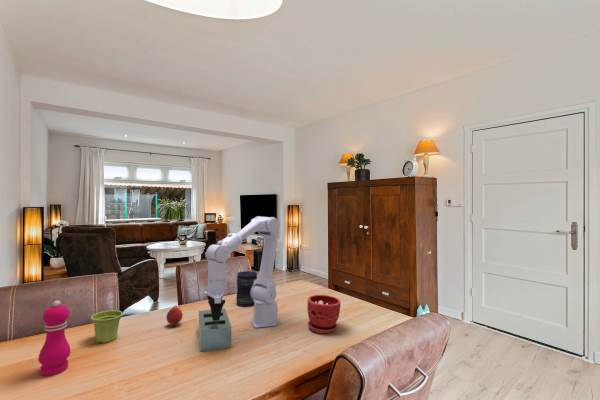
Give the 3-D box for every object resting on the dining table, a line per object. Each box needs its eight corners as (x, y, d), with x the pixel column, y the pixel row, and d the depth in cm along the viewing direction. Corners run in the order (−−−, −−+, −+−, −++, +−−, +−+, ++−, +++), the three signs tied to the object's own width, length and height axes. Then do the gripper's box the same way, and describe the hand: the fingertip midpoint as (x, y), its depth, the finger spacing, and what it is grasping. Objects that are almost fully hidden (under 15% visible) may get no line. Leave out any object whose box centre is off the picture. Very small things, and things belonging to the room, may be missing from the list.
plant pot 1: (117, 331, 114) (118, 308, 114) (124, 339, 107) (125, 315, 107) (87, 338, 107) (88, 314, 108) (93, 348, 101) (94, 322, 101)
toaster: (224, 325, 122) (225, 308, 122) (230, 347, 104) (231, 326, 104) (198, 328, 118) (199, 310, 118) (200, 351, 100) (200, 330, 100)
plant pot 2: (317, 338, 112) (318, 306, 112) (301, 325, 124) (301, 296, 124) (346, 332, 118) (347, 301, 118) (328, 320, 130) (328, 292, 130)
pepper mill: (50, 363, 91) (52, 296, 91) (75, 363, 91) (78, 296, 92) (30, 377, 83) (33, 304, 84) (58, 376, 84) (61, 304, 84)
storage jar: (254, 307, 143) (255, 276, 144) (234, 307, 144) (234, 275, 144) (257, 301, 153) (258, 271, 154) (238, 300, 154) (239, 270, 154)
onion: (176, 329, 117) (176, 308, 117) (163, 327, 118) (163, 307, 118) (184, 323, 123) (185, 303, 123) (172, 322, 124) (172, 302, 124)
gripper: (203, 274, 112) (202, 311, 112) (205, 285, 99) (204, 326, 99) (223, 273, 115) (222, 309, 115) (227, 283, 101) (226, 324, 101)
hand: (215, 317), depth 107 cm, fingers open, 4 cm apart
